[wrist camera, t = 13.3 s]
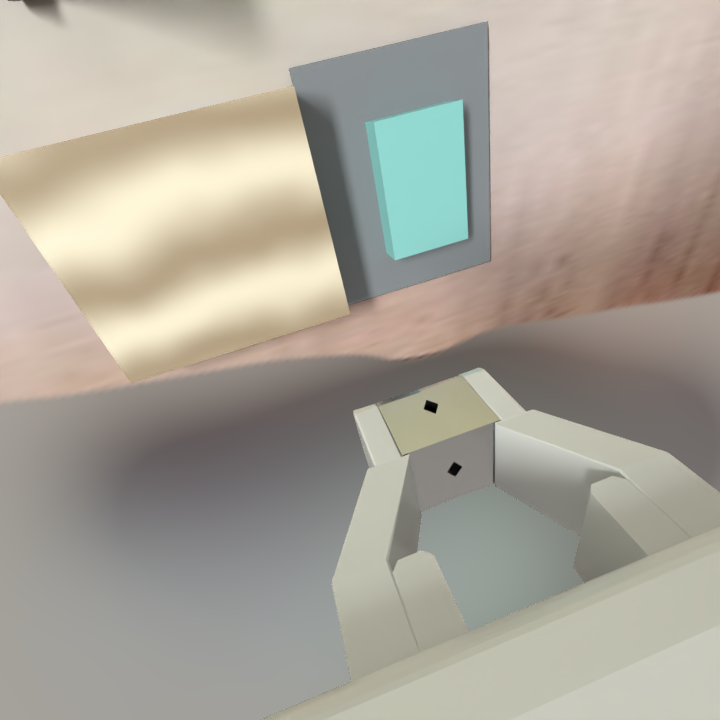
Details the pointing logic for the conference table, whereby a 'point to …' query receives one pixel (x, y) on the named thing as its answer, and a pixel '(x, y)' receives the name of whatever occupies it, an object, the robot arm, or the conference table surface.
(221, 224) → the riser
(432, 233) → the turquoise rectangular block
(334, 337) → the conference table surface
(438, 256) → the mat
